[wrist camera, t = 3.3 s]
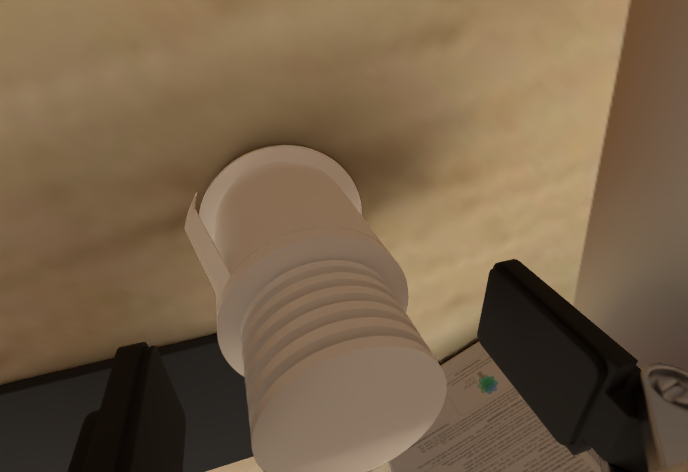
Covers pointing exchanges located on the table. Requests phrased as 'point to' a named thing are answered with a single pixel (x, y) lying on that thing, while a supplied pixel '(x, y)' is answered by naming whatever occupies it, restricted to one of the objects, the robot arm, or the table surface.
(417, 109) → the table surface
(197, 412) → the mat
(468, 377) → the ink cartridge box
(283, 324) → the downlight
